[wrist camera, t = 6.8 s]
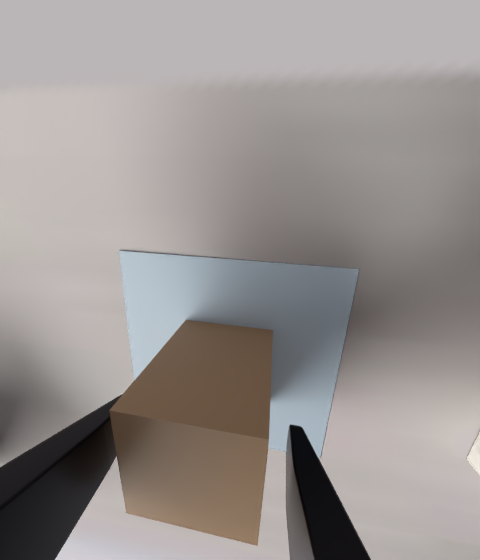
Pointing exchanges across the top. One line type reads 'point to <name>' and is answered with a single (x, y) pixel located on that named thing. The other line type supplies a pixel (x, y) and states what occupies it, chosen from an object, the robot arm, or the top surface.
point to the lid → (222, 381)
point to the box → (475, 455)
